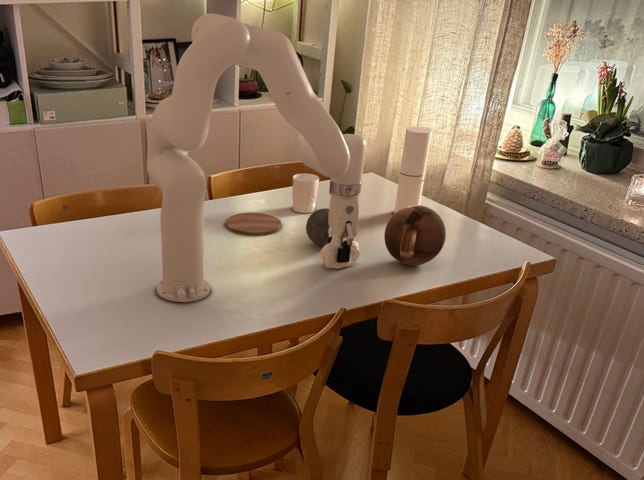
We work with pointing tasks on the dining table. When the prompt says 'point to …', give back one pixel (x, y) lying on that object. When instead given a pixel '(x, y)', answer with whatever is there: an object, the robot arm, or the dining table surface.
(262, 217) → the round wooden disc
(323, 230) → the decorative ball
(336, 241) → the bust
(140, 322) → the dining table surface
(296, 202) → the white cup
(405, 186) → the cylindrical container
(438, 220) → the wooden sphere
